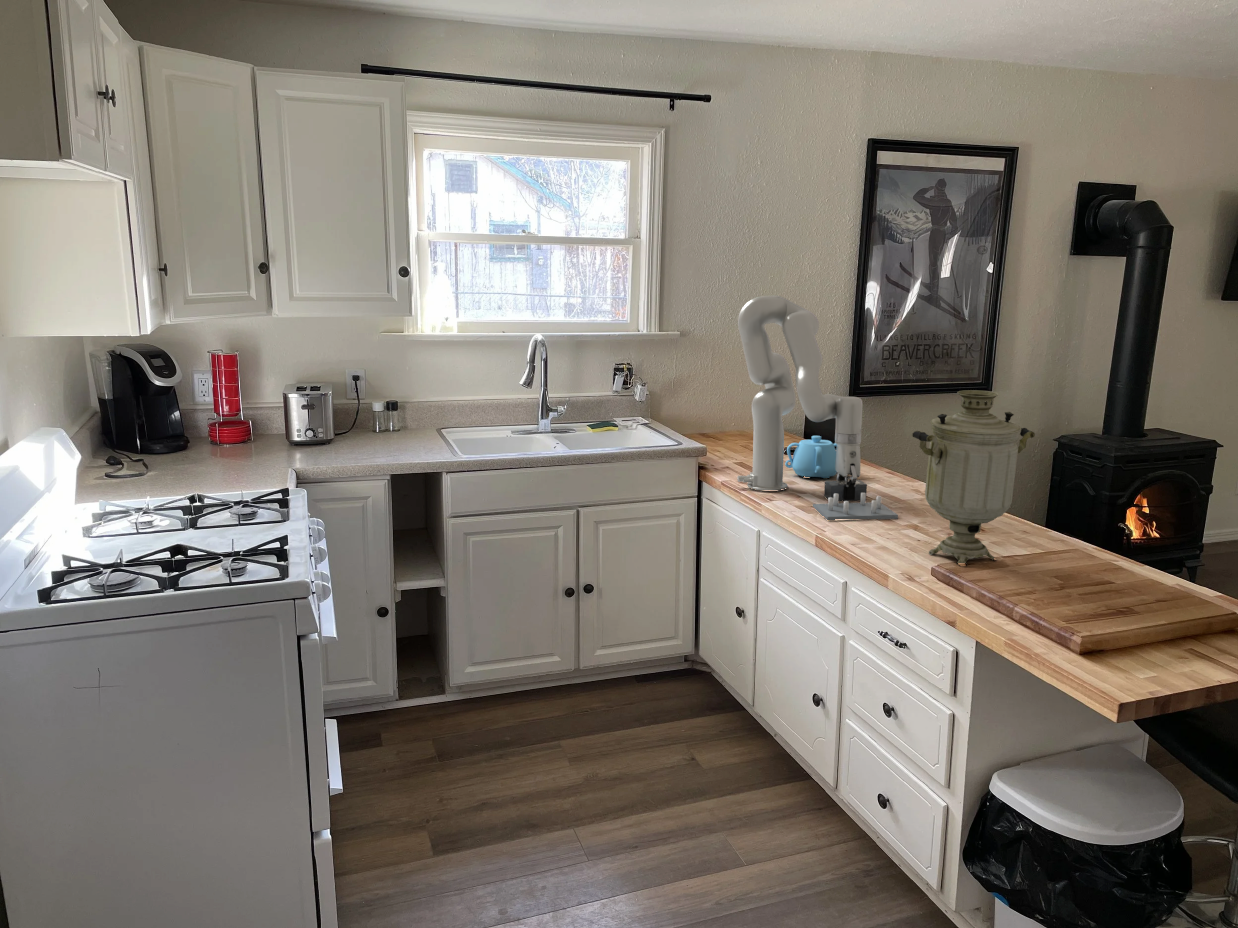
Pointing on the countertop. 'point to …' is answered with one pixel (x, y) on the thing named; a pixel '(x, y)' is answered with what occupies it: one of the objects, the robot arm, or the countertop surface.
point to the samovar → (971, 470)
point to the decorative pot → (813, 458)
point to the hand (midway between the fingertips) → (845, 496)
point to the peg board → (855, 509)
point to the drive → (839, 486)
